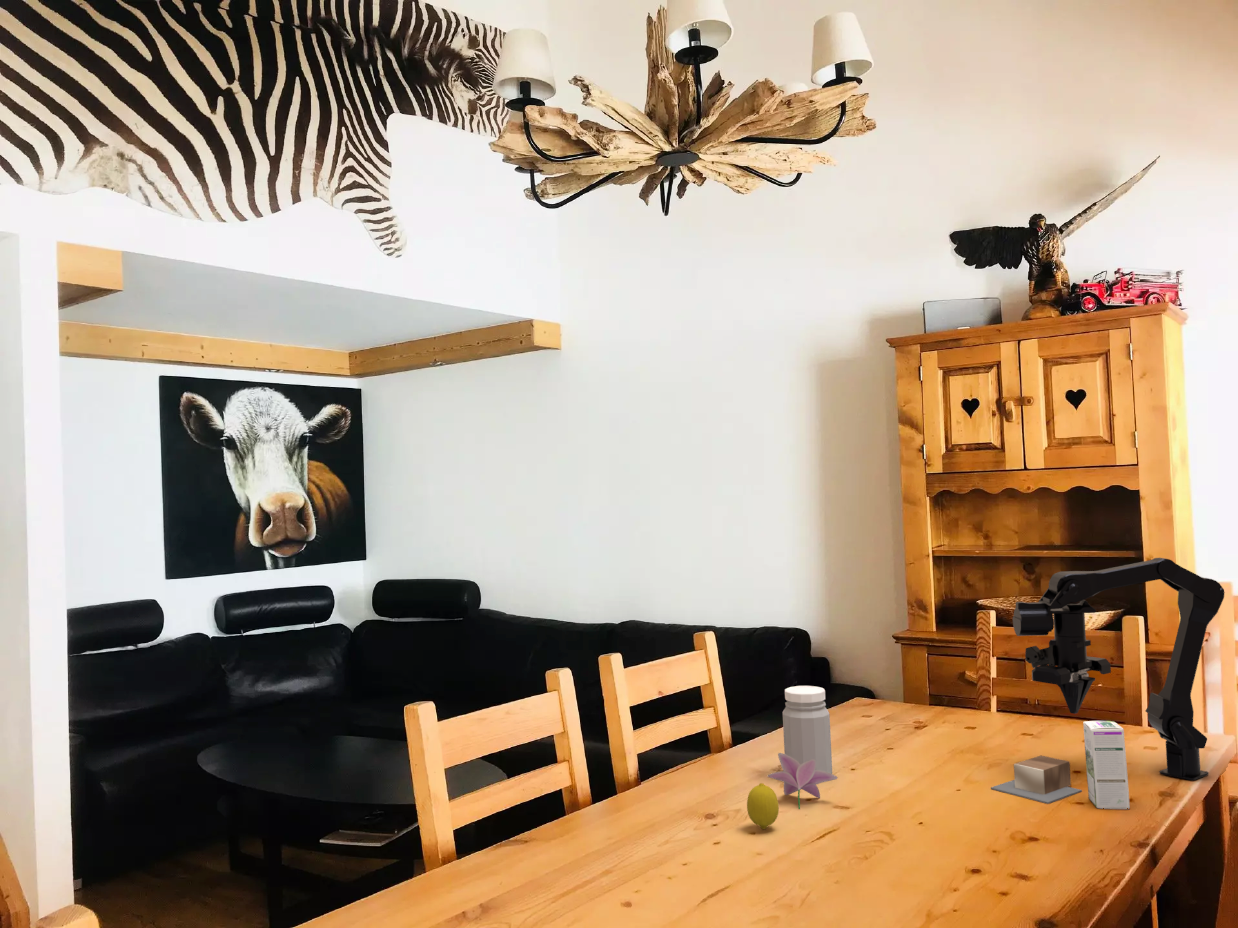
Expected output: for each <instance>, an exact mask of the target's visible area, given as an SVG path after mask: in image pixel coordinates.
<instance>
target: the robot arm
mask: <svg viewBox="0 0 1238 928" xmlns="http://www.w3.org/2000/svg"><path fill="white" fill-rule="evenodd" d="M1158 580H1160V581H1162V582H1163V583H1164V584H1166V585H1167V586H1168V587H1170V588H1171V589H1173V590H1175V591H1176V592H1177V593H1178V594H1177V607H1178V612H1179V616H1180V617H1179V618H1180V619H1179V624H1178V627H1177V632H1176V637H1175V641H1174V644H1173V645H1174V646H1173V649H1172V654H1171V657H1170V660H1169V665H1168V670H1167V674H1166V679H1165V682H1164V686H1163V688H1162V689H1161V690H1160V692H1159V693H1154V692H1151V693H1150V694H1149V698H1148V699H1149V703H1148V705H1147V708H1146V710H1144V711H1145V712H1146V714H1147V719H1148V722H1149V724H1150V725H1151V727H1152V728H1153V729H1155V730H1156V731H1157V733H1158V735H1159V737H1160V738H1161V739H1163V740H1165V751H1166V752H1165V753H1166V754H1165V755H1166V756H1165V758H1166V768H1164V769H1161V770H1159V774H1160V775H1164V776H1169V777H1174V778H1179V779H1184V780H1187V781H1188V780H1189V781H1195V780H1198V779H1201V778H1203V777H1207V776H1208V775H1209V772H1208V771H1207V770H1206V771H1205V770H1201V761H1200V760H1201V759H1200V758H1201V757H1200V749H1205V747H1206V744H1207V741H1208V737H1207V736H1206V735H1204V733H1202V732H1200V730H1199V729H1197V728H1196V727H1195V726H1194V707H1193V701H1192V690H1193V686H1194V682H1195V678H1196V674H1197V669H1198V664H1199V661H1200V657H1201V654H1202V653H1201V652H1202V649H1203V644H1204V640H1205V636H1206V631H1207V628H1208V625H1209V624H1210V623H1211V621H1212V620H1213V619H1214V618H1215V616H1216V615H1217V614H1218V613H1219V610H1220V608H1221V606H1222V603H1223V601H1224V599H1225V593H1226V592H1225V589H1224V588H1223V586H1222V585H1221V584H1220V582H1218V581H1217V580H1215V579H1212V578H1209V577H1203V576H1200V575H1198V574H1196V573H1195V572H1193V571H1191V570H1189V569H1186V568H1184V567H1183V566H1181V565H1179V564H1177V563H1176V562H1175V561H1173V560H1172V559H1170V558H1166V557H1165V558H1164V557H1154V558H1152V559H1150V560H1144V561H1140V562H1134V563H1130V564H1123V565H1119V566H1115V567H1109V568H1105V569H1104V568H1103V569H1099V570H1094V571H1093V570H1092V571H1091V570H1090V571H1089V570H1088V571H1087V570H1086V571H1085V570H1082V571H1081V570H1072V571H1071V570H1070V571H1069V570H1068V571H1058V572H1056V573H1053V574H1052V575H1051V577H1050V579H1049V582H1048V588H1047V589H1046V591H1045V592H1044V593H1043V595H1042V596H1041V597H1040V599H1039V601H1038V602H1035V601H1034V602H1033V601H1032V602H1025V601H1016V602H1015V608H1014V610H1013V616H1012V625H1013V626H1012V627H1013V630H1014V633H1015V635H1016V636H1017V637H1025V636H1026V637H1027V636H1028V637H1031V636H1032V637H1033V636H1040V637H1041V636H1048V635H1049V634H1050V632H1051V633H1052V631H1053V630H1054V639H1049V641H1048V647H1045V648H1042V649H1040V648H1039V647H1038V646H1037V645H1033V646H1029V647H1025V654H1024V657H1025V658H1024V660H1025V661H1026V662H1027V663H1028V664H1030V665H1031V667H1032V670H1031V679H1032V682H1038V683H1045V684H1051V685H1057V686H1058V688H1059V689H1060V691H1061V693H1062V695H1063V697H1064V701H1065V703H1066V706H1067V708H1068V711H1069V712H1070V714H1073V715H1076V714H1078V713H1079V710H1080V709H1081V707H1082V704H1083V702H1084V701H1085V698H1086V696H1087V693H1089V690H1090V688H1091V686H1092V684H1094V682H1095V681H1096V678H1095V677H1092V676H1091V677H1090V676H1089V673H1088V672H1090V671H1093V672H1099V673H1100V674H1101V675H1106V674H1110V673H1111V672H1112V670H1111V669H1112V667H1111V665H1112V664H1111V663H1110V661H1109V660H1108V659H1107V658H1104V657H1095V656H1088V655H1087V647H1089V646H1092V644H1091V642H1092V641H1091V639H1087V637H1086V634H1087V633H1086V619H1085V618H1086V616H1085V614H1092V613H1093V614H1094V613H1096V612H1097V610H1096V609H1095V608H1094V607H1093V606H1091V605H1090V603H1088V600H1087V599H1089V598H1093V597H1094V596H1095V595H1098V594H1099V593H1101V592H1104V591H1108V590H1113V589H1117V588H1122V587H1127V586H1133V585H1138V584H1142V583H1143V584H1144V583H1147V582H1153V581H1158Z"/></svg>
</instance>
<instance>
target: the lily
mask: <svg viewBox="0 0 1238 928" xmlns="http://www.w3.org/2000/svg"><path fill="white" fill-rule="evenodd" d="M777 756H778V759H779V760H778V761H779V763H780V766H781V768H782V770H781V771H775V772H772V773H769V774H768V775H767V777H768V778H771V779H772V780H773V779H774V780H777V781H781V782H783V794H784V796H789V795H793V794H794V793H796V792H797V803H798V810H801V804H800V803H801V800H800V799H801V798H800V793H801V791H802V790H803V791H804V792H806V793H808V794H809V795H811V796H814V797H815V798H818V799H820V798H821V793H820V790H819V787H818V786H817V785H819V784H822V783H825V782H830V781H835V780H837V779H838V776H837V775H835V774H833V773H832V774H831V773H828V772H825V771H821V770H815V769H816V760H814V759H812V760H809V761H806V762H804V763H803V764H800V763H799V762H798V761H797V760H795V759H794V758H792V757H790V756H788V755H785V753H784V752H783V753H782V752H778V753H777Z"/></svg>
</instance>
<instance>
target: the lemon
mask: <svg viewBox="0 0 1238 928" xmlns="http://www.w3.org/2000/svg"><path fill="white" fill-rule="evenodd" d="M779 809H780V806H779V800H778V797H777V793H776V792H775V790H774V789H772V787H770V786H769V785H766V784H764V783H763V782H760V783H759V784H757V785H756V786H753V787H752V788H751V790H749V792H748V795H747V801H746V810H747V814H748V817H749V818H750V820H751V822H752V823H754V824H755V825H756V826H759V827H760V829H761V830H766V829H767V828H768V826H769V827H770V826H771V825H772V824H774V822H776V820H777V818H778V815H779V811H780V810H779Z"/></svg>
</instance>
